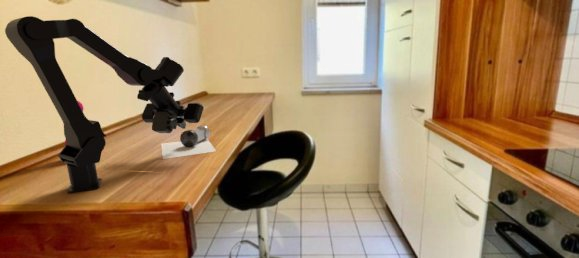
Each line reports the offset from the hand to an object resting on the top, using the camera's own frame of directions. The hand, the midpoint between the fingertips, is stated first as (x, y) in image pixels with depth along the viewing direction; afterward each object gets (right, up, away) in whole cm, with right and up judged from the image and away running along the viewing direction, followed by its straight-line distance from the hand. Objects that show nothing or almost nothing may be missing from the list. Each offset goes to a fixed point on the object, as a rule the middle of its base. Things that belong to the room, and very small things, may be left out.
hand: (184, 127), depth 109 cm
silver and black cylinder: (+1, -4, +2) cm, 4 cm away
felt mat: (0, -7, +2) cm, 7 cm away
